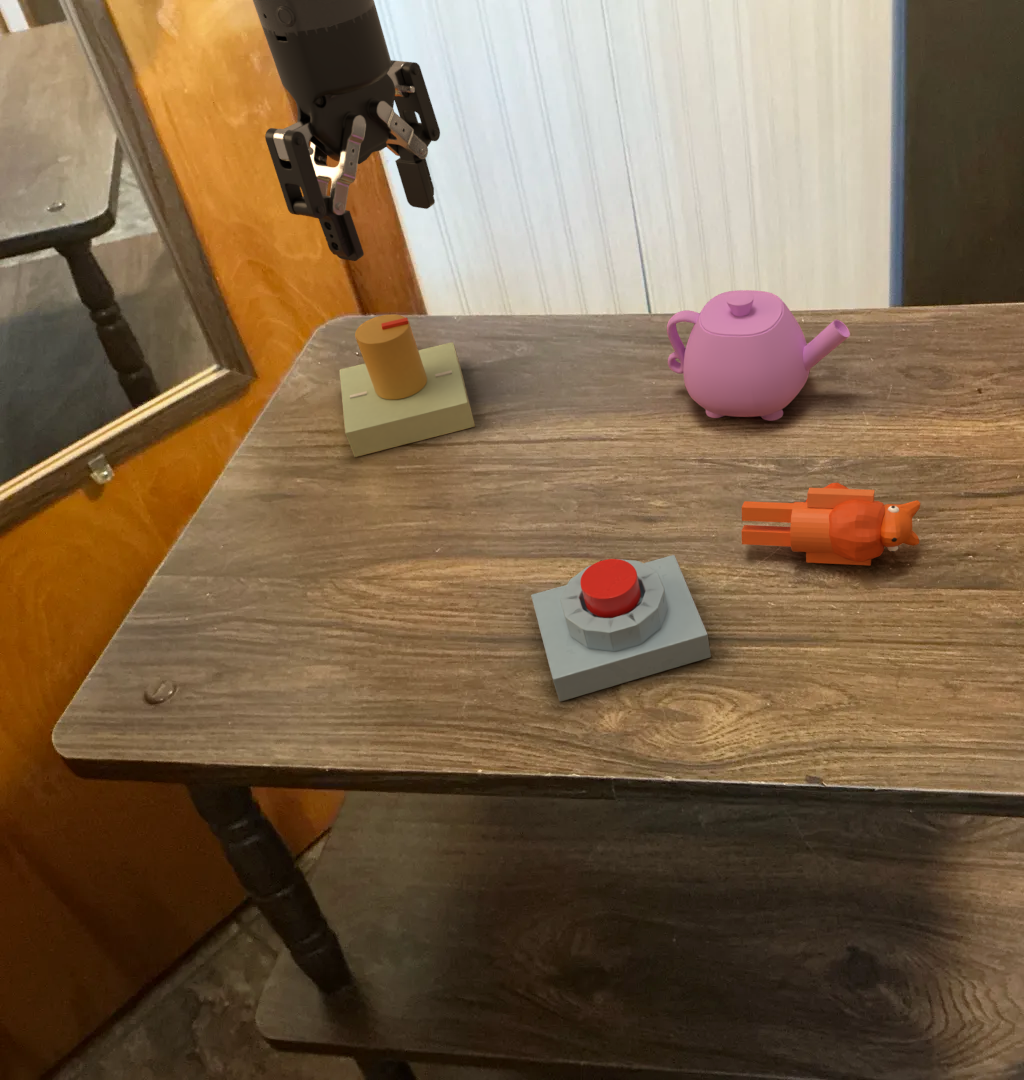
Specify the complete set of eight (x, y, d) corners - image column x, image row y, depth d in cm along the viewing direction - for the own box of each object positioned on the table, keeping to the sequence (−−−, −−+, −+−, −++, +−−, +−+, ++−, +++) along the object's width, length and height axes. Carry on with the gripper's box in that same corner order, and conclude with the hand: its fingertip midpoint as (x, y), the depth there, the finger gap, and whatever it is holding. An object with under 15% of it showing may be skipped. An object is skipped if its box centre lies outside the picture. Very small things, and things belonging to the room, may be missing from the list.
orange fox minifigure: (734, 502, 75) (919, 509, 73) (753, 464, 82) (923, 469, 80) (736, 572, 77) (916, 581, 75) (755, 528, 84) (920, 535, 82)
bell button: (591, 624, 71) (586, 604, 70) (580, 587, 74) (574, 567, 73) (647, 608, 72) (643, 588, 71) (633, 572, 74) (629, 552, 73)
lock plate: (354, 457, 93) (344, 431, 91) (348, 393, 100) (338, 367, 99) (475, 426, 95) (467, 400, 93) (460, 365, 102) (452, 340, 100)
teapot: (686, 358, 99) (673, 261, 93) (859, 364, 96) (857, 264, 90) (657, 430, 92) (640, 330, 86) (842, 439, 89) (839, 336, 82)
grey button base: (559, 702, 72) (546, 660, 69) (537, 617, 77) (524, 574, 75) (711, 657, 73) (704, 614, 70) (678, 577, 79) (671, 534, 76)
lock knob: (377, 405, 94) (355, 345, 90) (373, 377, 97) (352, 318, 93) (430, 392, 95) (410, 331, 91) (424, 365, 98) (405, 305, 94)
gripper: (344, -29, 82) (408, 185, 93) (197, 41, 73) (286, 269, 84) (426, -25, 79) (482, 196, 90) (283, 49, 70) (364, 284, 81)
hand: (387, 231), depth 87 cm, fingers open, 8 cm apart
